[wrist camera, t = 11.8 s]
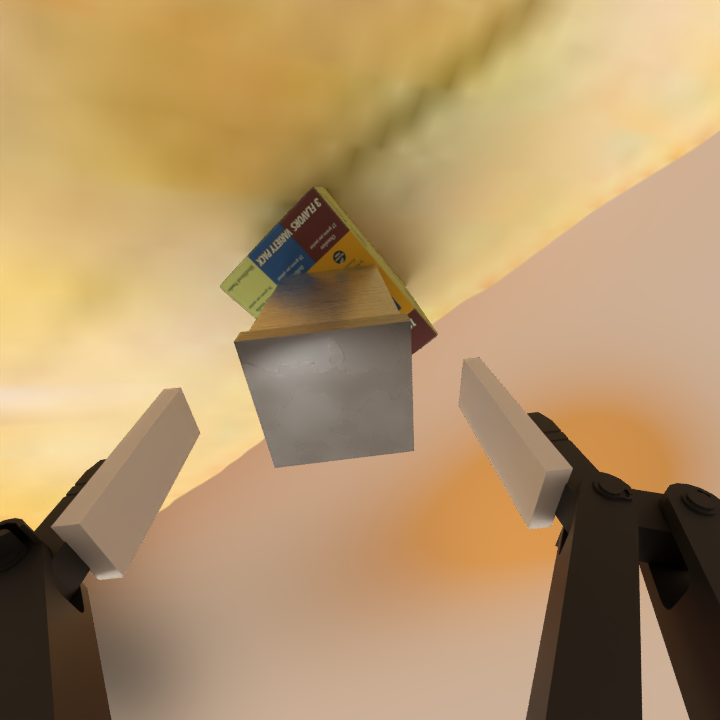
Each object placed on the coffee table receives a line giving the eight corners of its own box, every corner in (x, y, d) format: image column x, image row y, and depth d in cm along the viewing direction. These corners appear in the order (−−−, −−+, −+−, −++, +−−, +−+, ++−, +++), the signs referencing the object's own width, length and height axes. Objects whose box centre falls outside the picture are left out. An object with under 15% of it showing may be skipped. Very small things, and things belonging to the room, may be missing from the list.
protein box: (322, 184, 35) (313, 182, 21) (406, 287, 41) (441, 336, 27) (259, 250, 37) (215, 287, 24) (346, 337, 44) (351, 405, 30)
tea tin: (280, 273, 24) (233, 341, 13) (377, 261, 24) (410, 320, 13) (299, 359, 27) (275, 467, 17) (384, 349, 27) (413, 450, 17)
